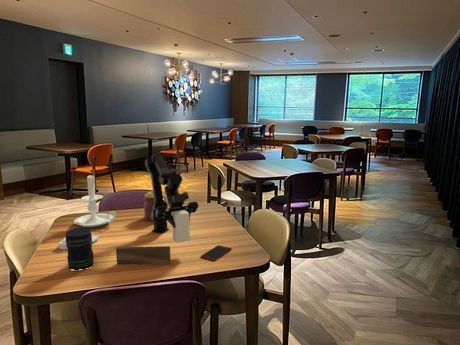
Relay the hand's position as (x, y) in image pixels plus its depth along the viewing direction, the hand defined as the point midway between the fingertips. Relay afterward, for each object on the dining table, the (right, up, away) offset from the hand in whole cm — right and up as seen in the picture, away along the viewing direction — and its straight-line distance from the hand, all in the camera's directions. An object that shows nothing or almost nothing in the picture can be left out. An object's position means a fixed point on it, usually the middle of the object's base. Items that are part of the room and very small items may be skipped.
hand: (181, 226), depth 154 cm
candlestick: (-53, -6, +43) cm, 68 cm away
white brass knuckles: (-52, -11, +17) cm, 56 cm away
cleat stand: (-15, -14, -1) cm, 21 cm away
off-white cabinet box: (-1, -6, +2) cm, 7 cm away
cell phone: (+15, -13, +5) cm, 20 cm away
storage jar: (-41, -16, -7) cm, 44 cm away
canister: (-23, -4, +54) cm, 59 cm away
